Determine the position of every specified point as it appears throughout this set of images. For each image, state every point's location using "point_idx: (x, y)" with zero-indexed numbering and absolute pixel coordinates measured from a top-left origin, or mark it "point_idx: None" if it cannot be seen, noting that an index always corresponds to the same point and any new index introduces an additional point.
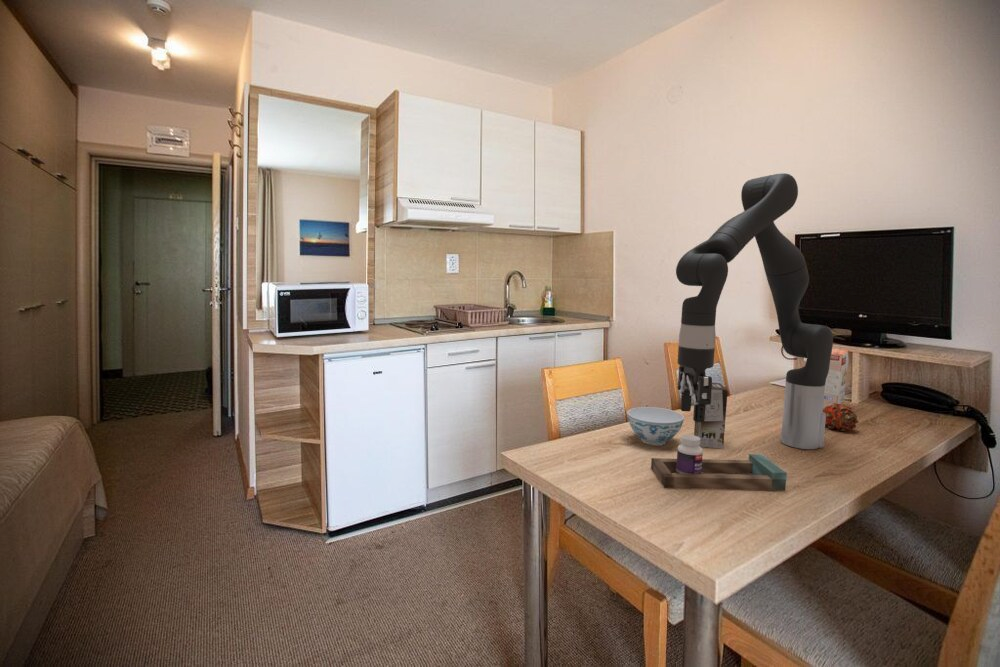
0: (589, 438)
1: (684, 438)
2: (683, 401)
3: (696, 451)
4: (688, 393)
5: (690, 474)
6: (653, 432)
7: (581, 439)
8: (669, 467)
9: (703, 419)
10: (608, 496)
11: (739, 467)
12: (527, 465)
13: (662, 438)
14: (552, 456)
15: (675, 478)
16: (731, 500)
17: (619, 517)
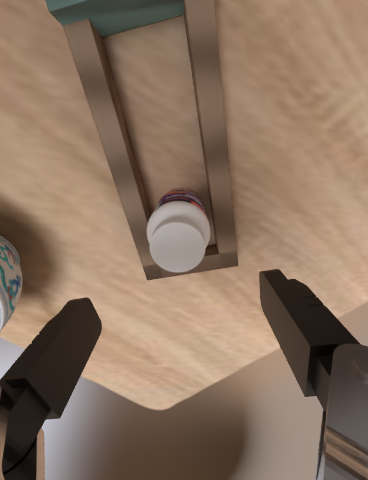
0: None
1: (193, 267)
2: (75, 368)
3: (206, 224)
4: (17, 414)
5: (218, 220)
6: (18, 281)
7: None
8: None
9: (298, 282)
10: None
11: (108, 74)
12: (189, 394)
13: (11, 252)
14: (149, 377)
15: (236, 247)
16: (276, 142)
17: (333, 313)
